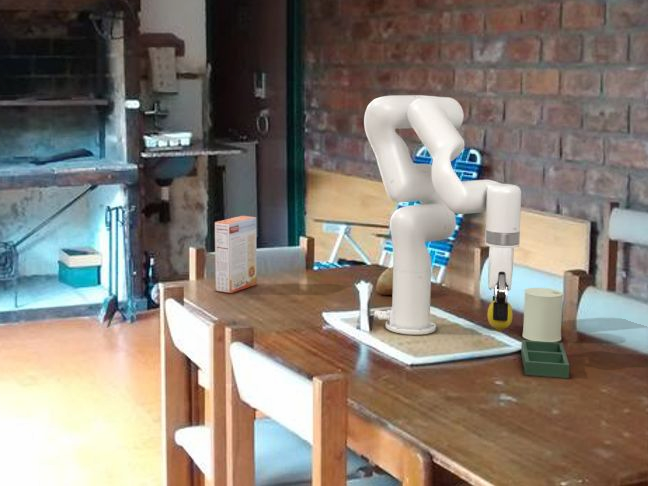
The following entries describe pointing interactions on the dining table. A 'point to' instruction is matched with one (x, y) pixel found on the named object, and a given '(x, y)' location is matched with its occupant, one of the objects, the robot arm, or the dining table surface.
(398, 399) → the dining table surface
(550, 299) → the can
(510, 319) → the lemon
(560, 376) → the holder
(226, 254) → the cracker box
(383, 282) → the bread roll
